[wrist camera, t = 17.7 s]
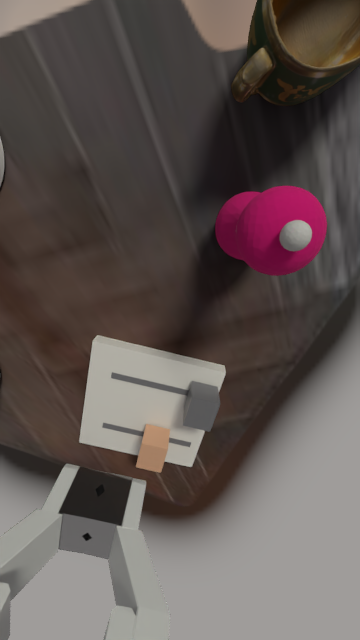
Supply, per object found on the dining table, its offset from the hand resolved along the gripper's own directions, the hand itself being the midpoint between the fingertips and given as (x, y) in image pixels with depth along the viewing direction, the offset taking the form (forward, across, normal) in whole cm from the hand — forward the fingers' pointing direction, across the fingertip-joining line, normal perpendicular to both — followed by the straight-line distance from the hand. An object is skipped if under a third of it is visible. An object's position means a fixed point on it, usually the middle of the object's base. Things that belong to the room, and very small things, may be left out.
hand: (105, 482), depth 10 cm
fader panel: (+29, -1, +20) cm, 35 cm away
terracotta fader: (+27, -3, +25) cm, 37 cm away
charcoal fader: (+27, -8, +15) cm, 32 cm away
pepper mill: (+29, -7, -10) cm, 32 cm away
